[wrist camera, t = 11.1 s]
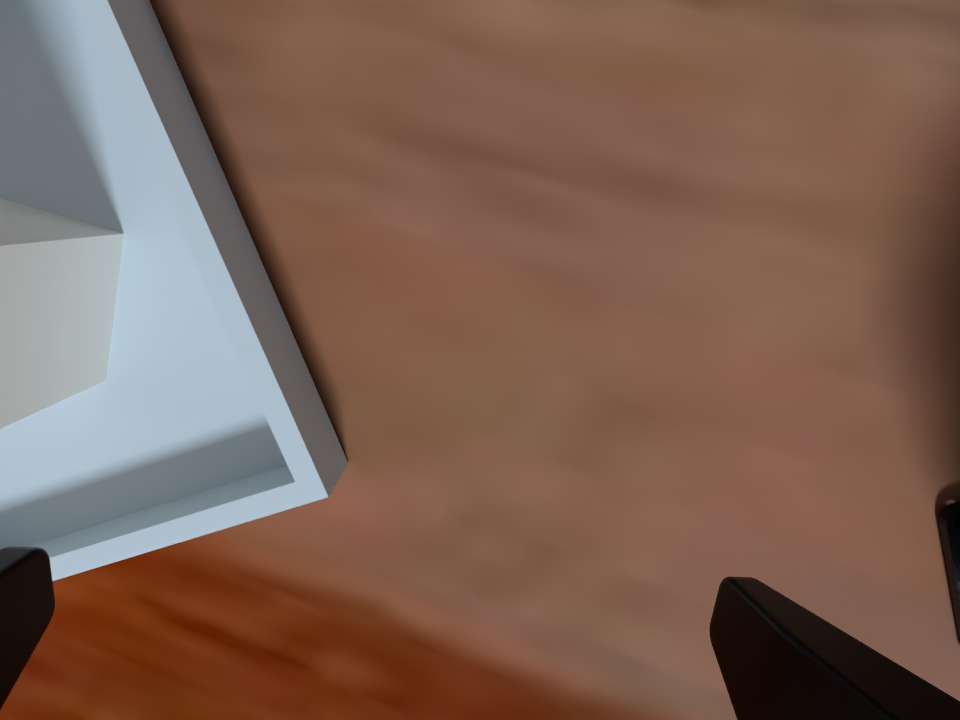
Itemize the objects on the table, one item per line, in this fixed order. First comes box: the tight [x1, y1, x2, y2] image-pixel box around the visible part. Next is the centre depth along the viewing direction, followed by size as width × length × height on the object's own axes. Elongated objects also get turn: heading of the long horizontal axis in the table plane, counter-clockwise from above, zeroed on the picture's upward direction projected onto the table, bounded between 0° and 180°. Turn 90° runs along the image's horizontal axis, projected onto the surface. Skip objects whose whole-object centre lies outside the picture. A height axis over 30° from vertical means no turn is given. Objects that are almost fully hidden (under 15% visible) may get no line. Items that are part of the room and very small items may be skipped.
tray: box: [0, 0, 348, 581], centre depth 19 cm, size 18×14×2 cm
